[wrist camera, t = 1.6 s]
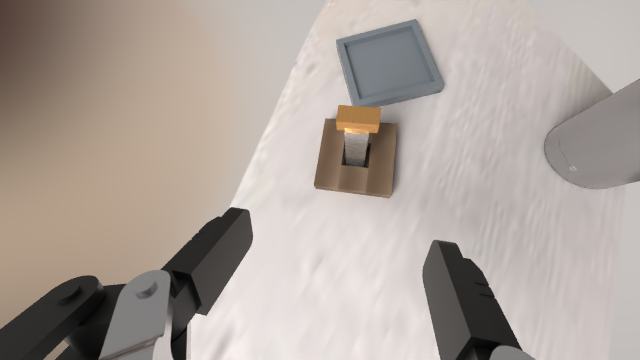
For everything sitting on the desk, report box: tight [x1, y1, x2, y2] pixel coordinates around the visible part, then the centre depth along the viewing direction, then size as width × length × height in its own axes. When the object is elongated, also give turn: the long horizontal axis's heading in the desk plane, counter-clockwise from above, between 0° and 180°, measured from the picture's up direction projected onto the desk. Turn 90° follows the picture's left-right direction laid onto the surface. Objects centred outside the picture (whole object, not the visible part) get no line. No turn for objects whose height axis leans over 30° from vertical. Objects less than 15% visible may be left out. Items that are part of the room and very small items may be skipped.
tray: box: [336, 19, 444, 108], centre depth 35 cm, size 13×13×2 cm
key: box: [336, 105, 381, 168], centre depth 27 cm, size 4×2×12 cm, turn 81°
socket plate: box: [314, 119, 397, 198], centre depth 31 cm, size 10×10×2 cm
